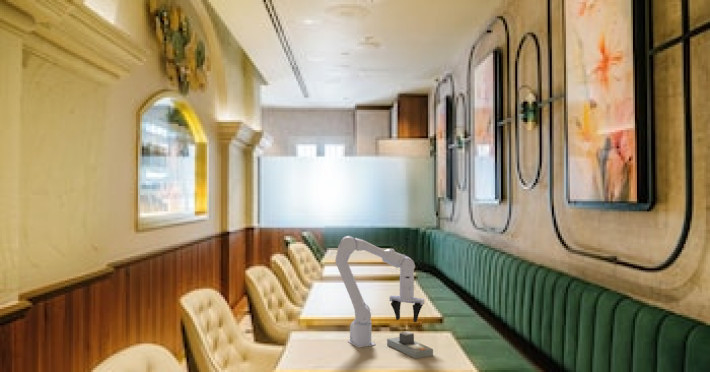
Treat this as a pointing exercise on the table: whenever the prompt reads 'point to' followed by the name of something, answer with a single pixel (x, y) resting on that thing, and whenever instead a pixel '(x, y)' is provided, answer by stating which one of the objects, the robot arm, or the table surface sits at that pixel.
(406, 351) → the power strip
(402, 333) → the plug block
